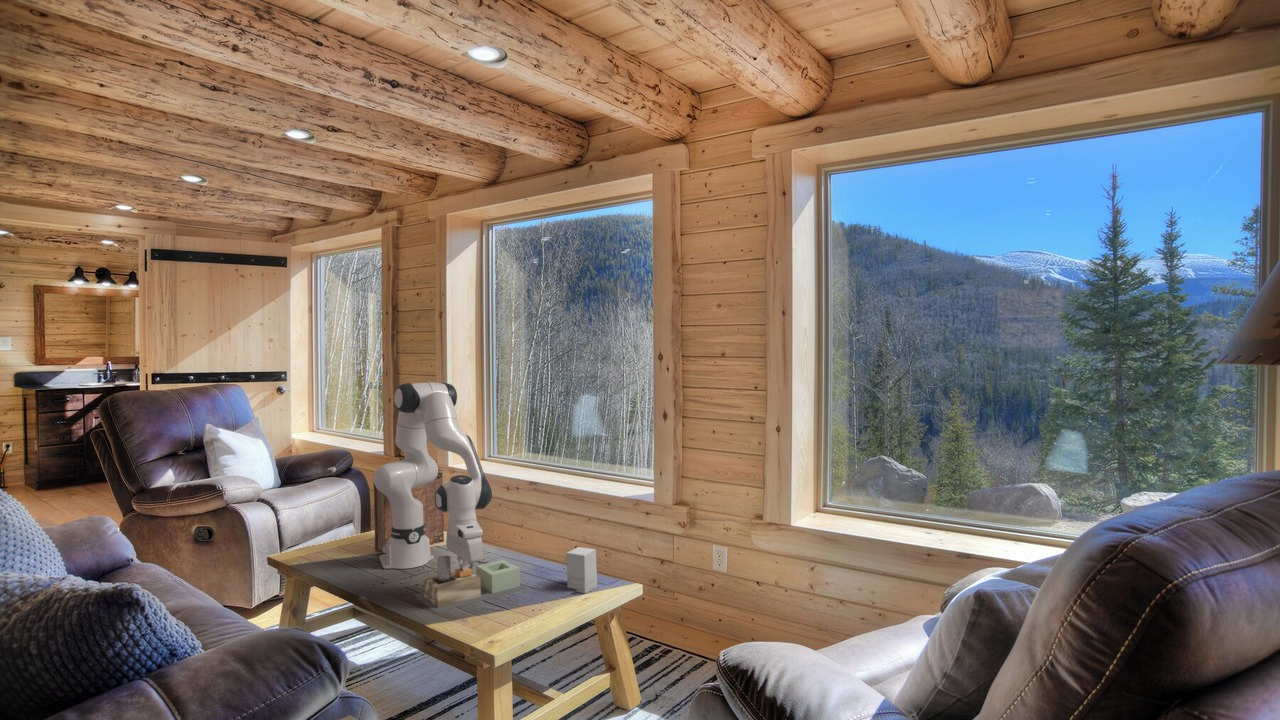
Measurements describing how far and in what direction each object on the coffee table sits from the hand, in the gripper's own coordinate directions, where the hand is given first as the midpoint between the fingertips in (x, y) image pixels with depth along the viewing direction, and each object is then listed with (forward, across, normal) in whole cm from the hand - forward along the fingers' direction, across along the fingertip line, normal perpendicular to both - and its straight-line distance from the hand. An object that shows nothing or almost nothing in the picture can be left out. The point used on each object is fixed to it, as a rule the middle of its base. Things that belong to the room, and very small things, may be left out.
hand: (463, 569), depth 219 cm
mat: (+9, 0, +2) cm, 9 cm away
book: (+9, -68, +6) cm, 69 cm away
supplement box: (+9, +19, +33) cm, 39 cm away
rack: (+8, 0, +12) cm, 14 cm away
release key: (+5, 0, 0) cm, 5 cm away
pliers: (+9, -28, +16) cm, 34 cm away
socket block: (+8, 0, -4) cm, 9 cm away
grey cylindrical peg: (+7, 0, -6) cm, 9 cm away
